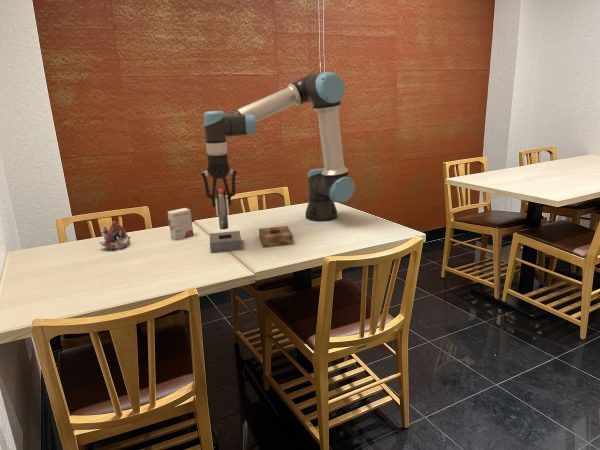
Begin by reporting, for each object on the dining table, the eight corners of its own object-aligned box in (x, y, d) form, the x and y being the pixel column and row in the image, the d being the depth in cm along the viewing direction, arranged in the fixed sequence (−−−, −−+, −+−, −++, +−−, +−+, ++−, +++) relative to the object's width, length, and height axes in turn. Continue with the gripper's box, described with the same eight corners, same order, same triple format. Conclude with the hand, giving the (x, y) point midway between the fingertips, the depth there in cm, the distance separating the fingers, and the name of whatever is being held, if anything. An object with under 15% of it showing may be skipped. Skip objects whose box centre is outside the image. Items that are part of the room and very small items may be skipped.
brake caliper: (120, 247, 172) (101, 222, 172) (105, 261, 177) (87, 237, 177) (140, 238, 183) (122, 214, 182) (125, 251, 187) (108, 228, 187)
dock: (240, 239, 183) (239, 230, 181) (242, 249, 171) (241, 239, 170) (210, 242, 180) (209, 233, 179) (210, 253, 169) (209, 243, 168)
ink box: (188, 233, 194) (185, 207, 191) (194, 235, 190) (191, 209, 187) (170, 237, 189) (166, 211, 185) (175, 240, 185) (171, 213, 182)
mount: (287, 235, 186) (287, 226, 185) (292, 244, 175) (292, 234, 174) (259, 237, 184) (258, 228, 183) (262, 247, 173) (262, 237, 171)
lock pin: (228, 226, 175) (224, 188, 171) (228, 228, 172) (225, 190, 168) (219, 227, 175) (215, 188, 170) (219, 229, 172) (216, 190, 167)
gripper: (238, 151, 170) (243, 209, 177) (195, 153, 167) (201, 213, 174) (240, 153, 163) (244, 214, 170) (194, 156, 160) (201, 218, 167)
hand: (222, 214), depth 172 cm, fingers closed on lock pin, 3 cm apart
